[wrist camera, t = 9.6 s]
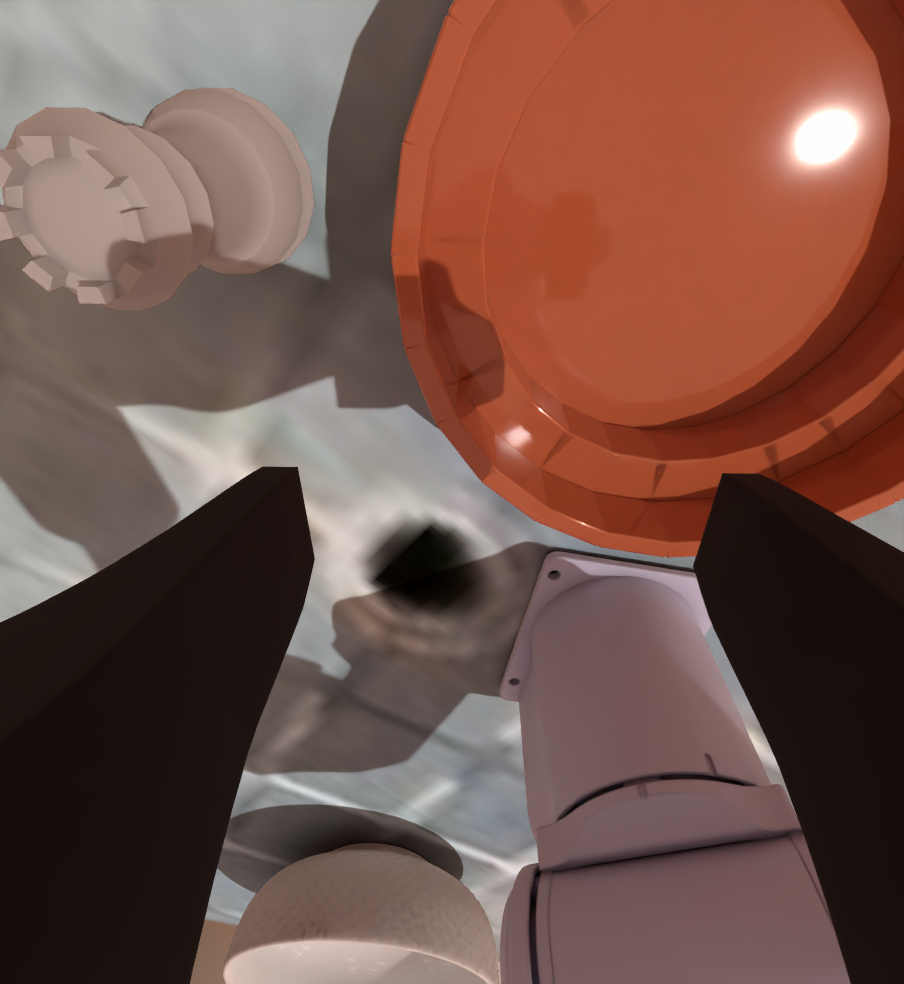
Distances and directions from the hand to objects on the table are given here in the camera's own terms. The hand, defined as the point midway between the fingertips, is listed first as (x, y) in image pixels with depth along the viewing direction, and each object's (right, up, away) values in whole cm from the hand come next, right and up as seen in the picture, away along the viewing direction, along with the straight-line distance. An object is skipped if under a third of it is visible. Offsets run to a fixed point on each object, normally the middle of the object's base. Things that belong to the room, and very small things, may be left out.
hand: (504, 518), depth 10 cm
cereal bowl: (-6, -26, +30) cm, 40 cm away
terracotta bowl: (+6, +8, +6) cm, 12 cm away
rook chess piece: (-7, +9, +6) cm, 13 cm away
